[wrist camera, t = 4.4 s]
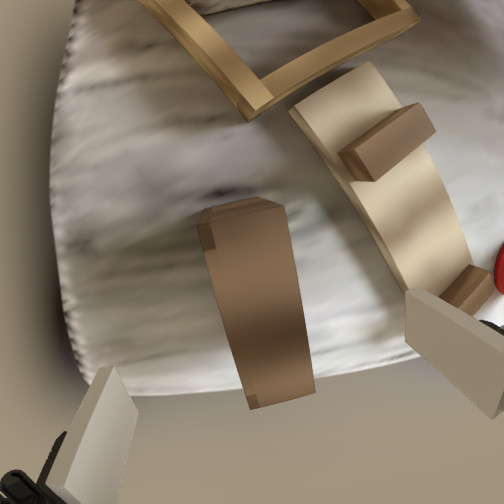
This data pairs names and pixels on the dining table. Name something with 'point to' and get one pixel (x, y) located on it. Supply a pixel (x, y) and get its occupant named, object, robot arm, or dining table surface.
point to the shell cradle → (288, 76)
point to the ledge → (394, 184)
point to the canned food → (499, 271)
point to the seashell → (218, 5)
